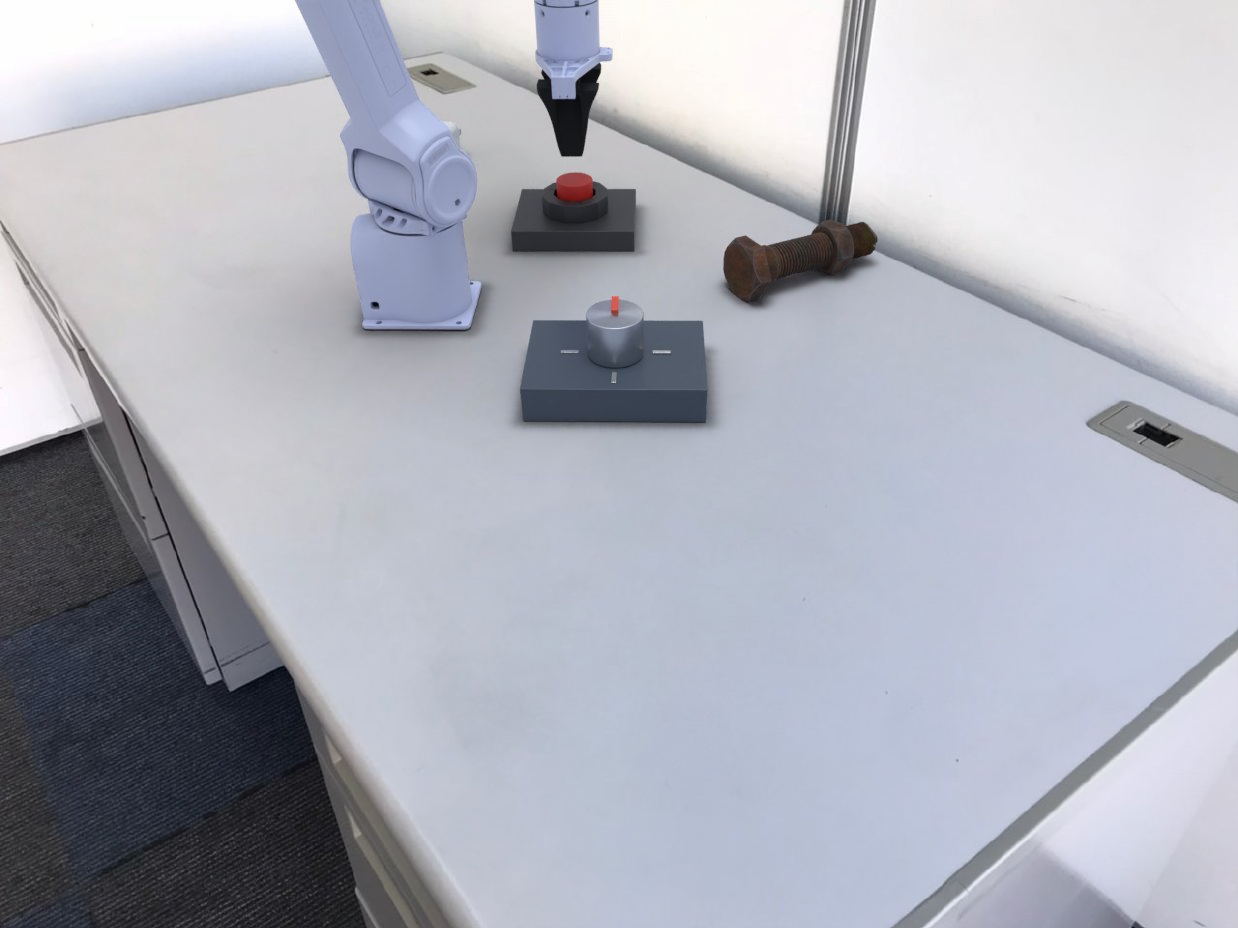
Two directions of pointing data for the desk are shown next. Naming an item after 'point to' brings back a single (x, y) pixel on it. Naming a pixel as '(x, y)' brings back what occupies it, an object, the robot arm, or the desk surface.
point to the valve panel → (615, 376)
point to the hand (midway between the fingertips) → (573, 149)
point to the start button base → (575, 221)
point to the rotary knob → (615, 333)
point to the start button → (574, 187)
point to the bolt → (794, 256)
